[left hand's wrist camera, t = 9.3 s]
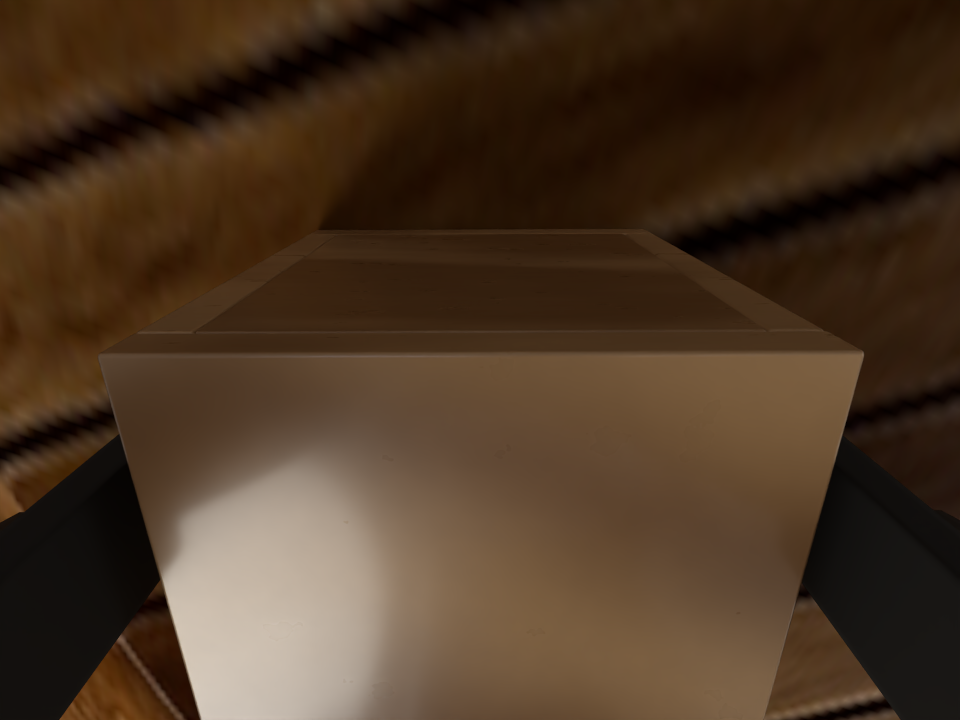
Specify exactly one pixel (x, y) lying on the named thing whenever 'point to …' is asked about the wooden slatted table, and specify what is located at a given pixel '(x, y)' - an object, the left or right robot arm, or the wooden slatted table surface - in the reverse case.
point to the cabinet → (481, 477)
